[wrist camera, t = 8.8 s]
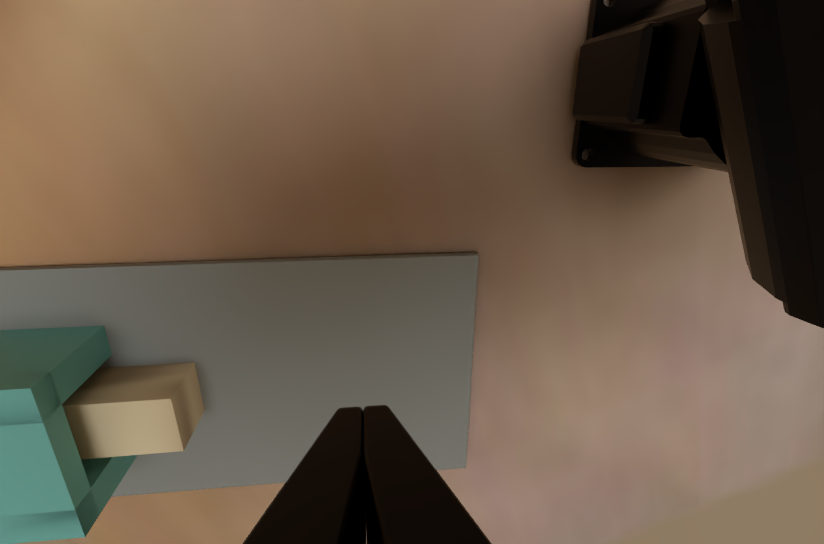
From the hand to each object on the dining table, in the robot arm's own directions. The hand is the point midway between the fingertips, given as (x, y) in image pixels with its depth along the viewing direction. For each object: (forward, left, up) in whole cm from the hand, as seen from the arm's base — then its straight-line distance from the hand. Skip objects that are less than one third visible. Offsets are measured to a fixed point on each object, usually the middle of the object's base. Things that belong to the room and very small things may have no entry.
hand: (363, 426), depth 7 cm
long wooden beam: (+12, +7, -12) cm, 18 cm away
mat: (+5, +7, -12) cm, 15 cm away
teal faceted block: (+13, +7, -12) cm, 19 cm away
